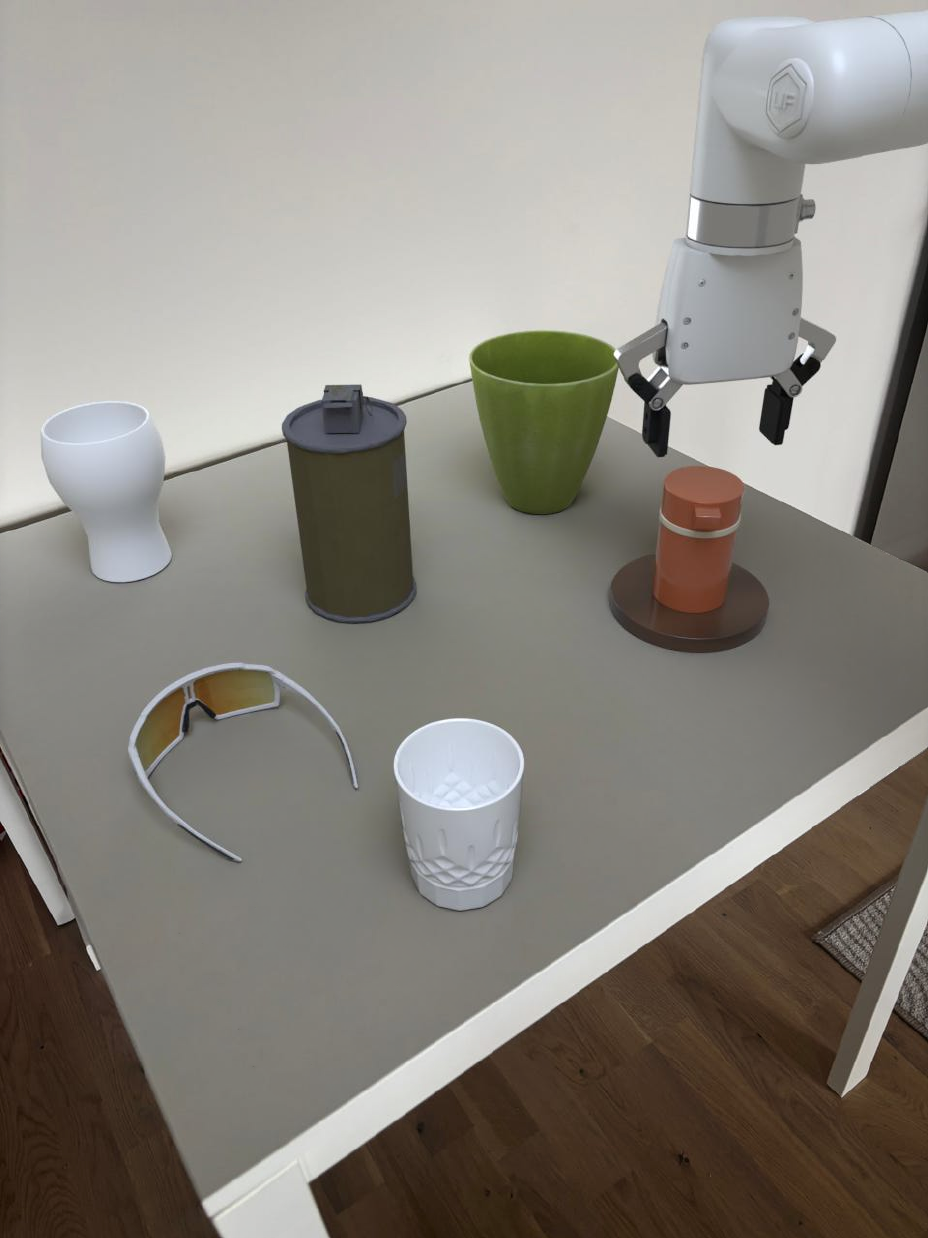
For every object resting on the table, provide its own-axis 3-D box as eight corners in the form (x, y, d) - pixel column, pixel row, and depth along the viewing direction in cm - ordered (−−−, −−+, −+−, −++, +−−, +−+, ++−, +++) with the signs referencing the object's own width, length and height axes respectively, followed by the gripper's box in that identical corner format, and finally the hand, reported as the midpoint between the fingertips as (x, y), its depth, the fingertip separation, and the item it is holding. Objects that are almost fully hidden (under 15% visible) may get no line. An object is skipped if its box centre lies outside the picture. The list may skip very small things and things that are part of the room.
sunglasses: (266, 679, 81) (262, 636, 77) (380, 792, 73) (381, 749, 70) (107, 763, 73) (96, 718, 70) (215, 899, 65) (208, 856, 62)
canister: (413, 623, 87) (400, 415, 75) (297, 624, 87) (266, 417, 76) (419, 558, 96) (408, 363, 84) (314, 560, 96) (289, 365, 84)
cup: (193, 578, 94) (161, 435, 85) (78, 601, 91) (33, 455, 82) (180, 526, 102) (150, 391, 93) (74, 546, 99) (33, 408, 90)
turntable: (800, 623, 86) (803, 609, 85) (672, 671, 81) (674, 657, 80) (699, 550, 96) (700, 537, 95) (580, 589, 91) (580, 576, 90)
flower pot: (533, 454, 114) (536, 319, 105) (637, 495, 105) (650, 352, 96) (443, 500, 105) (438, 357, 96) (548, 548, 97) (553, 397, 87)
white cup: (386, 847, 66) (375, 739, 60) (491, 811, 69) (491, 704, 63) (429, 937, 60) (421, 826, 54) (542, 894, 63) (546, 784, 57)
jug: (648, 558, 92) (659, 452, 86) (721, 561, 92) (737, 455, 85) (653, 622, 84) (665, 511, 77) (733, 626, 83) (753, 514, 77)
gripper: (831, 201, 73) (794, 416, 83) (608, 218, 71) (597, 435, 81) (882, 224, 67) (836, 453, 76) (639, 243, 65) (623, 475, 75)
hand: (713, 444), depth 79 cm, fingers open, 9 cm apart
